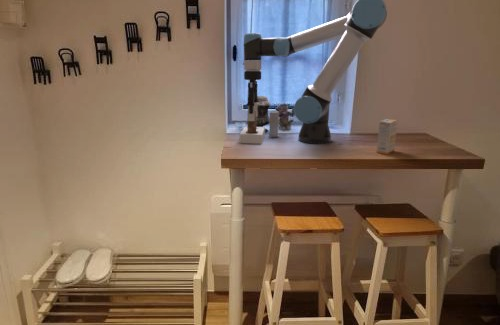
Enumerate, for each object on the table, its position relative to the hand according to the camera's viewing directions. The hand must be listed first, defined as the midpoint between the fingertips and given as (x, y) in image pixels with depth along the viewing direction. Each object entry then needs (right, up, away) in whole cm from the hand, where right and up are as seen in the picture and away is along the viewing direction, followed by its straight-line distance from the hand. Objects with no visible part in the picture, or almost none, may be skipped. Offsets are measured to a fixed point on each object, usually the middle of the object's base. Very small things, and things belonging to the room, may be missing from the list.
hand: (252, 118), depth 167 cm
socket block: (0, -9, +8) cm, 12 cm away
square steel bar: (+10, -7, +13) cm, 18 cm away
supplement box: (+55, -16, -14) cm, 59 cm away
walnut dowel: (-1, -10, +3) cm, 10 cm away
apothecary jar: (+3, -3, +27) cm, 27 cm away
